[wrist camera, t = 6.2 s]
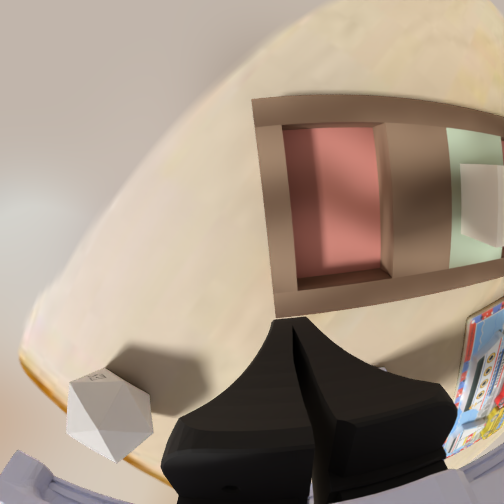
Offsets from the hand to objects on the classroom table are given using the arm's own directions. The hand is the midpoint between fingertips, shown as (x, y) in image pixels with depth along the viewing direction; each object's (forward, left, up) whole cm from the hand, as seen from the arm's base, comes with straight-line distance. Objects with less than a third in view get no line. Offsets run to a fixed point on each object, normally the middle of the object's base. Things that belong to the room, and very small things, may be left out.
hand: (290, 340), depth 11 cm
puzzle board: (-20, -32, -10) cm, 39 cm away
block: (+4, -16, -7) cm, 18 cm away
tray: (+4, -13, -9) cm, 17 cm away
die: (-11, +16, -10) cm, 22 cm away
